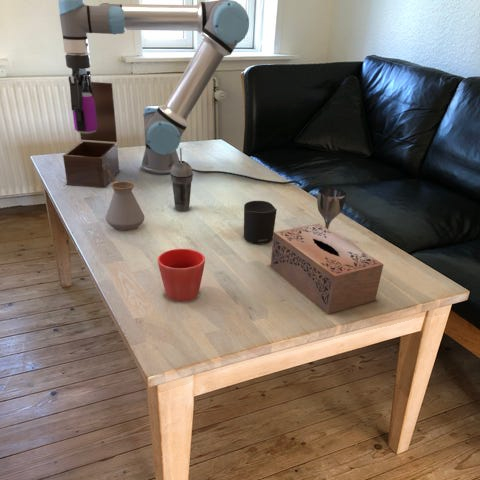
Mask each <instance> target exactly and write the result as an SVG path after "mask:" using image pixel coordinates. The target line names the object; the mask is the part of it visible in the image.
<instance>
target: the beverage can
mask: <svg viewBox="0 0 480 480" xmlns="http://www.w3.org/2000/svg"><path fill="white" fill-rule="evenodd" d="M82 110H83V111H84V117H85V125H86V131H78V130H77V122H76V115H75V111H73V110H72V109H71V111H72V120H73V125H74V130H75V131H76V132H77V133H79V134H80V133H85V134H86V133H94V132H96V130H97V118H96V109H95V101H94V98H93V96H92V94H91V93H86V92H83V95H82Z"/></svg>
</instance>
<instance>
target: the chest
mask: <svg viewBox="0 0 480 480" xmlns="http://www.w3.org/2000/svg"><path fill="white" fill-rule="evenodd" d="M118 151H119V150H118V143H117V142H106V141H92V140H81V141H79V142H78V143H77V144H76V145H74V146H73V147H72V148H70V149H69V150H68V151H66V153H64V154H63V155H62V158H63V165H64V171H65V178H66V179H65V180H66V186H77V187H79V186H80V187H94V188H106V187H107V186H108V184H110V182H111V181H112V180H111V178H110V176H109V175H108V171H107V170H106V169H103V168H106V167H105V165H104V164H105V163H106V164H109V165H108V167H109V168H110V171H111V172H112V173H113V176H114V177H116V175H117V174H118V173H119V172H120V164H119V161H120V160H119V152H118ZM102 165H103V168H102Z"/></svg>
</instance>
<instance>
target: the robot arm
mask: <svg viewBox="0 0 480 480" xmlns="http://www.w3.org/2000/svg"><path fill="white" fill-rule="evenodd" d="M58 11H59V12H58V13H59V21H60V27H61V34H62V42H63V50H64V51H63V52H64V53H65V55H64V57H65V64H66V68H69V69H71V76H68V84H69V93H70V106H71V111H72V110H73V111H75V115H76V122H77V130H78V131H86V125H85V117H84V111H83V110H82V95H83V92H86V93H91V94H92V96H93V90H92V83H91V82H92V77H91V75H92V74H91V71H90V70H87V69H90V68H91V66H92V65H91V57H90V55H89V53H90V50H89V47H90V44H91V43H89V40H88V34H105V35H106V34H107V35H109V34H110V35H122V34H124V33H125V32H126V31H173V32H174V31H177V32H179V31H181V32H182V31H183V32H185V31H186V32H197V33H198V34H199V35H201V37H202V40H201V42H200V44H199V46H198V47H197V49H196V50H195V52H194V54H193V56H192V58H191V59H190V61H189V63H188V64H187V67H186V68H185V70H184V72H183V73H182V74H181V76H180V78H179V80H178V82H177V83H176V85H175V86H174V89H173V90H172V92H171V94H170V95H169V97H168V99H167V101H166V103H164V104H160V105H158V106H156V105H155V106H154V105H151V106H146V107H144V108H143V114H142V116H143V126H144V129H143V130H144V144H145V148H144V153H143V157H142V161H141V169H142V171H144V172H146V173H149V174H154V175H155V174H156V175H170V173H171V168H172V166H173V165H174V164H175V163H176V162H178V161H180V156H179V155H178V152H177V151H178V148H179V146H180V144H181V139H182V136H183V134H184V132H185V131H186V129H187V128H188V121H187V119H188V118H189V115H190V114H191V113H192V111H193V109H194V107H195V106H196V104H197V102H198V101H199V99H200V97H201V96H202V93H203V92H204V91H205V89H206V87H207V86H208V84H209V82H210V81H211V79H212V77H213V76H214V74H215V73H216V70H217V69H218V68H219V66H220V65H221V62H222V61H223V59H224V57H227V56H230V55H232V53H233V51H234V50H235V48H236V46H237V45H238V44H239V43H241V41H243V40H244V39H245V38H246V36H247V35H248V32H249V29H250V18H249V14H248V12H247V10H246V9H245V8H244V6H242V4H241V3H238V2H237V1H235V0H211V1H199V2H197V4H136V3H135V4H134V3H133V4H131V3H121V4H119V3H109V2H102V3H100V4H99V5H88V4H85V2H84V0H58ZM93 98H94V96H93ZM73 111H72V112H73ZM192 171H193V172H195V173H199V174H200V173H201V174H222V175H223V174H224V175H230V176H235V177H241V178H245V179H250V180H253V181H257V182H264V183H269V184H277V185H288V184H289V185H290V184H297V185H298V186H303V184H302V183H301V182H300V181H298V180H289V181H275V180H268V179H263V178H257V177H253V176H249V175H245V174H240V173H235V172H229V171H221V170H199V169H195V168H192Z"/></svg>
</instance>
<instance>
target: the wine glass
mask: <svg viewBox="0 0 480 480" xmlns="http://www.w3.org/2000/svg"><path fill="white" fill-rule="evenodd" d="M346 199H347V192H346V191H345V190H344V189H341V188H338V187H330V186H329V187H321V188H319V189H318V191H317V197H316V204H317V210H318V213H319V214H320V216H321V217H322V218H323V220H324V227H325V228H327V229H328V230H329V227H330V225H331V223H332V221H333V220H335V219H336V218H337V217H338V216H339V215H340V214H341V213H342V211H343V210H344V209H343V208H344V206H345V203H346Z"/></svg>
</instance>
